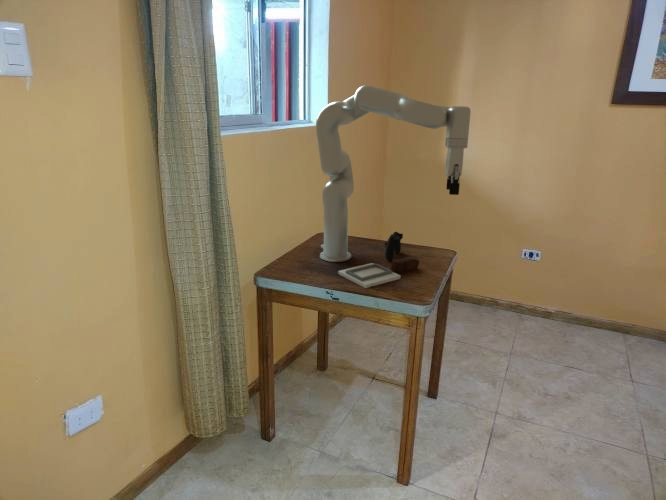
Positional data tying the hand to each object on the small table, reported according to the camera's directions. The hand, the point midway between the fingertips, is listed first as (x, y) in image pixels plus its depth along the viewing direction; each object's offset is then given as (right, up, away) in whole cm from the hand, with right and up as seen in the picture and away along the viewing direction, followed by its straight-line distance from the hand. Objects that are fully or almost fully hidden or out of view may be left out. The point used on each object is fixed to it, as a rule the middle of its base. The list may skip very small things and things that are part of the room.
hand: (452, 191), depth 165 cm
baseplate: (-30, -30, +1) cm, 43 cm away
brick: (-16, -29, +7) cm, 34 cm away
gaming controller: (-19, -24, +22) cm, 38 cm away
